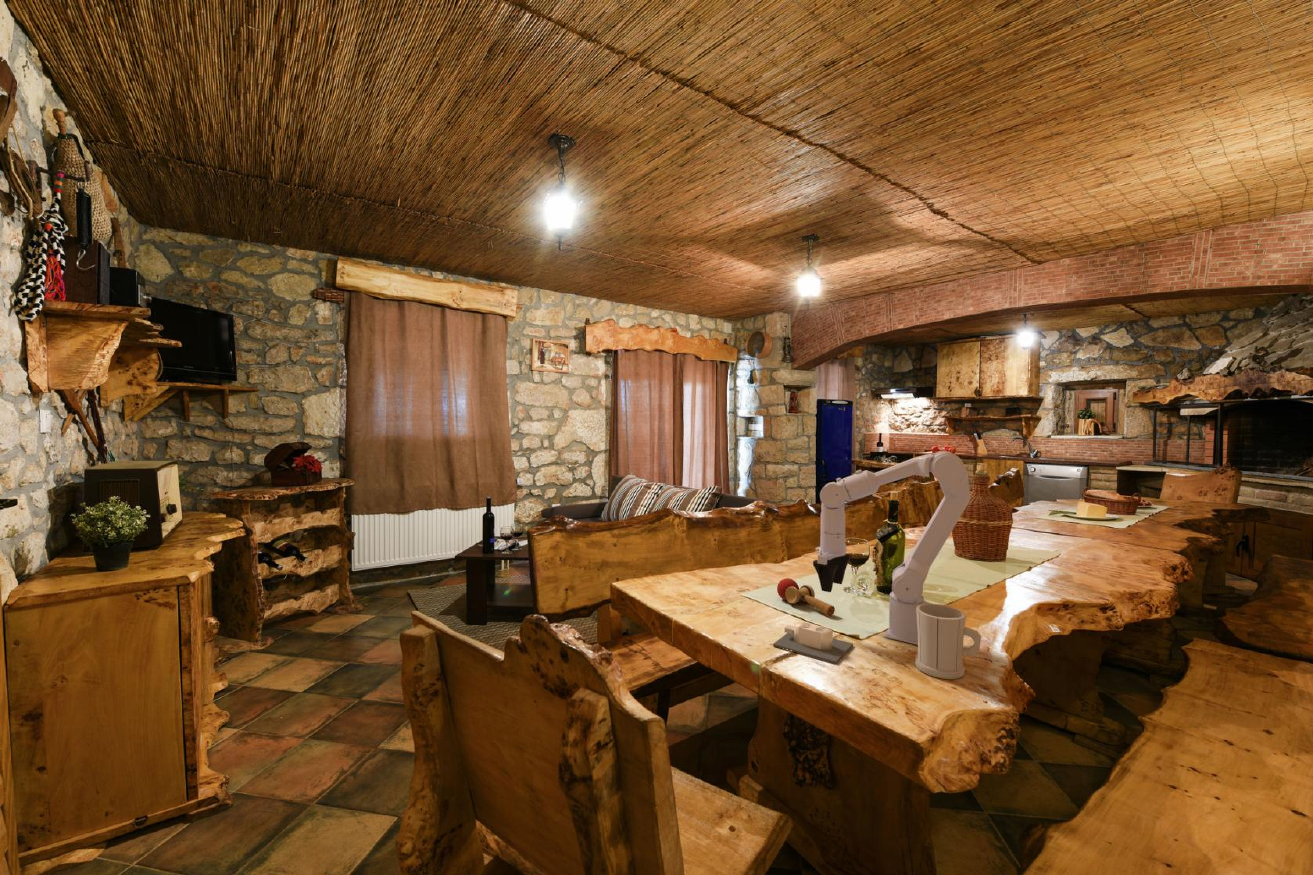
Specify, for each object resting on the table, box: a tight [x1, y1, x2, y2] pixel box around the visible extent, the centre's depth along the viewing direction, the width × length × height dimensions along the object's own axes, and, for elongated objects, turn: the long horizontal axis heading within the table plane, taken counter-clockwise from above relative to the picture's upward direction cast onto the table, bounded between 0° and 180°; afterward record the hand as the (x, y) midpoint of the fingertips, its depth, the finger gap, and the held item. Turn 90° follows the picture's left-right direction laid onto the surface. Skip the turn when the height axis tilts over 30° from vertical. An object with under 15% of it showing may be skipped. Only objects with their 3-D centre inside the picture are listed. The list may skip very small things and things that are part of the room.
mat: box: [772, 633, 854, 665], centre depth 118 cm, size 14×11×1 cm
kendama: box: [776, 577, 836, 618], centre depth 144 cm, size 8×6×18 cm
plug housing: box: [784, 621, 834, 650], centre depth 119 cm, size 11×4×4 cm, turn 52°
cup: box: [914, 603, 982, 680], centre depth 107 cm, size 10×9×12 cm
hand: (832, 587), depth 130 cm, fingers open, 7 cm apart
